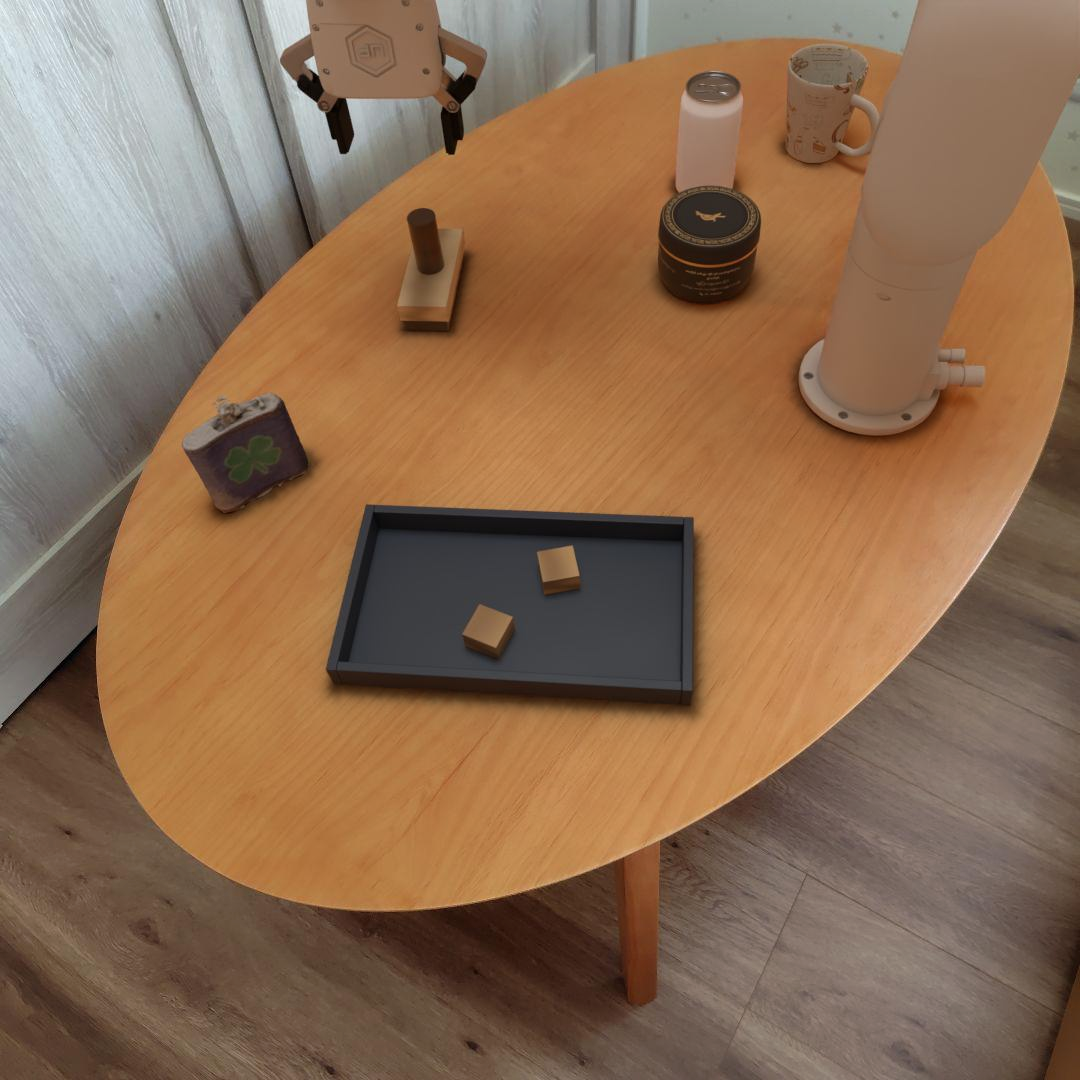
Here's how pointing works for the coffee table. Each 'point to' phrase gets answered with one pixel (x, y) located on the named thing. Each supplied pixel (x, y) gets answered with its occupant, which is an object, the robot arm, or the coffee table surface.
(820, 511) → the coffee table surface
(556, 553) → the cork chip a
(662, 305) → the coffee table surface
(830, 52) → the mug
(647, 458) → the coffee table surface
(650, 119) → the coffee table surface
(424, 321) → the brush
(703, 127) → the can
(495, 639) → the small wooden block
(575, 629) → the tray
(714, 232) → the jar
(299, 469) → the flask
